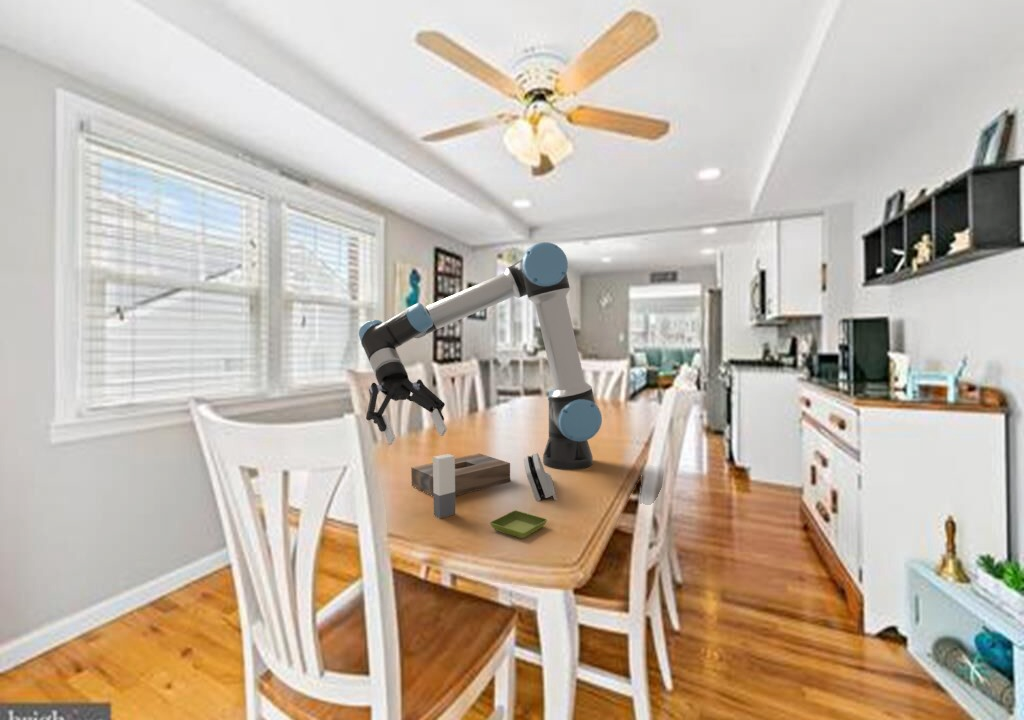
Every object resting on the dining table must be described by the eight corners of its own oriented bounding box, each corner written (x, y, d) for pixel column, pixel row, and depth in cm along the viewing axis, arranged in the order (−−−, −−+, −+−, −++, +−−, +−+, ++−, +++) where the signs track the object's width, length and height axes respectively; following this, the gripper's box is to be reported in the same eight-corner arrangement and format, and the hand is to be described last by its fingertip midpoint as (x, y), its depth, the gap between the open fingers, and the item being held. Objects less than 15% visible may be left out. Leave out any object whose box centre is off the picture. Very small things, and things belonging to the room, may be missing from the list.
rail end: (433, 515, 105) (432, 456, 104) (449, 510, 108) (448, 453, 107) (439, 518, 103) (438, 459, 102) (455, 514, 106) (454, 455, 105)
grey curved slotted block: (557, 501, 114) (542, 461, 113) (538, 507, 114) (523, 468, 113) (552, 479, 130) (539, 445, 130) (535, 485, 130) (523, 451, 130)
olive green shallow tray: (548, 529, 98) (548, 519, 98) (523, 543, 91) (523, 533, 91) (515, 519, 104) (514, 509, 103) (488, 532, 97) (488, 522, 97)
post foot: (411, 486, 125) (411, 467, 125) (479, 470, 140) (479, 453, 139) (440, 499, 115) (439, 479, 114) (510, 481, 129) (510, 463, 129)
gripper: (426, 376, 134) (457, 438, 123) (337, 382, 117) (363, 454, 107) (436, 358, 129) (468, 420, 119) (344, 362, 113) (373, 434, 102)
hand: (419, 437), depth 113 cm, fingers open, 13 cm apart
